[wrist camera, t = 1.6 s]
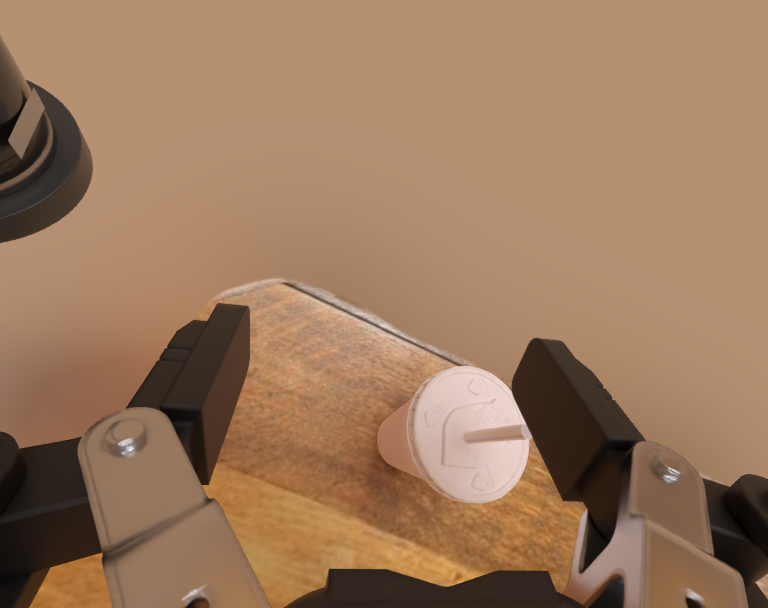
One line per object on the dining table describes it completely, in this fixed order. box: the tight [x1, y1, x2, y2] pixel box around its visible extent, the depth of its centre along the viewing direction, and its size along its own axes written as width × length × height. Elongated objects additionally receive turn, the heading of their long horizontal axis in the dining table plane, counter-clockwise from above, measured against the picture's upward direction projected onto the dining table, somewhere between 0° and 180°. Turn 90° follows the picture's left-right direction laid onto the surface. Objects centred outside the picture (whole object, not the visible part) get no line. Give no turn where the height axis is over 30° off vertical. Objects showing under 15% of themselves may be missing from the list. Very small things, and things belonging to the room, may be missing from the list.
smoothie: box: [377, 366, 532, 503], centre depth 21 cm, size 6×6×14 cm
